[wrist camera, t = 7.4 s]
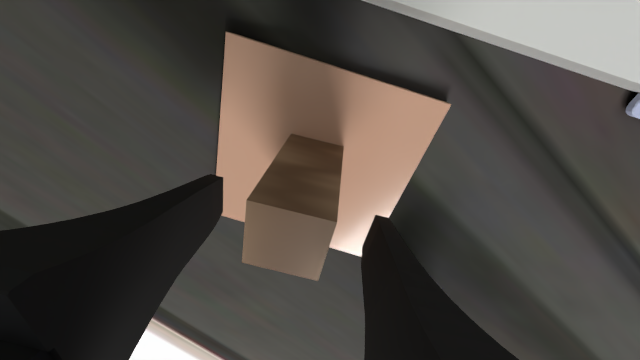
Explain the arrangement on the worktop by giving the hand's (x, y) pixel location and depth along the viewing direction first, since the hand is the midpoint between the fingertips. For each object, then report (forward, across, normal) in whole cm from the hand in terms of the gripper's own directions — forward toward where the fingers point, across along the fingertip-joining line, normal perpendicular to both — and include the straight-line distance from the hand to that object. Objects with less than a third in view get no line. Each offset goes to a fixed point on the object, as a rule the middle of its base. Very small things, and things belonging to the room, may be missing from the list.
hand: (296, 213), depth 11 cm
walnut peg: (+5, 0, 0) cm, 5 cm away
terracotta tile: (+5, 0, 0) cm, 5 cm away
